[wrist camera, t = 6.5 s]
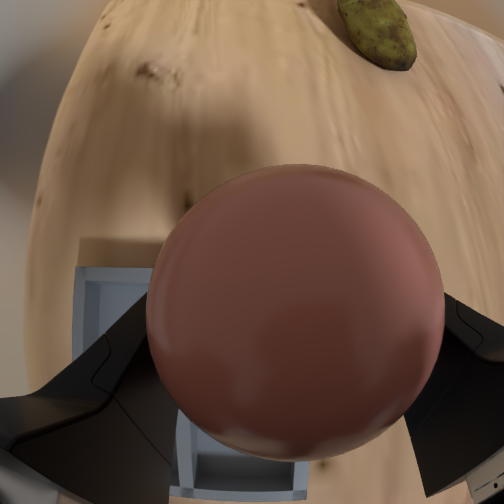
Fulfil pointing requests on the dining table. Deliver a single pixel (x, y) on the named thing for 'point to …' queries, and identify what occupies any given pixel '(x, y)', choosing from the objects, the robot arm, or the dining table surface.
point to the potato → (380, 32)
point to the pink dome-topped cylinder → (295, 313)
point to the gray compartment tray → (187, 434)
